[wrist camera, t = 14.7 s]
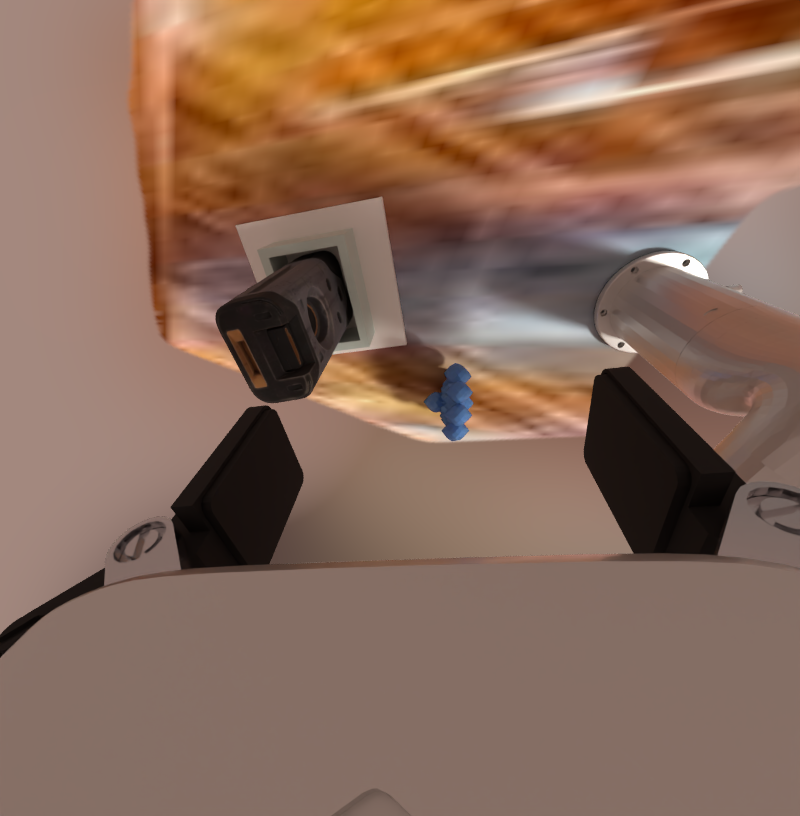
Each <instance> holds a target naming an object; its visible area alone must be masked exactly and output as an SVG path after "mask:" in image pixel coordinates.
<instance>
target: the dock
mask: <svg viewBox="0 0 800 816" xmlns="http://www.w3.org/2000/svg"><path fill="white" fill-rule="evenodd" d="M235 226H236V229H237V231H238V234H239V237H240V239H241V242H242V245H243V247H244V250H245V253H246V255H247V258H248V260H249V263H250V266H251V268H252V271H253V274H254V276H255V279H256V282H257V283H258V282H260V281H261V280H263V279H264V278H266V277H267V276H269V275H271V274H272V273H274V272H275V271H277V270H279V269H281V268H282V267H284V266H285V265H287V264H288V263H290V262H292V261H293V260H295V259H296V258H298V257H300V256H302V255H306V254H310V253H314V252H318V251H329V252H331V253H333V254H334V255H335V256H336V258H337V260H338V262H339V265H340V268H341V272H342V275H343V278H344V281H345V285H346V288H347V291H348V294H349V298H350V301H351V304H352V308H353V317H352V319H351V321H350V323H349V324H348V326H347V328H346V330H345V332H344V333H343V335H342V337H341V339H340V341H339V343H338V345H337V346H336V348H335V350H334V352H333V354H339V353H347V352H355V351H363V350H371V349H379V348H386V347H394V346H402V345H407V339H406V333H405V327H404V321H403V315H402V309H401V303H400V297H399V292H398V286H397V280H396V274H395V268H394V262H393V256H392V250H391V244H390V238H389V232H388V226H387V220H386V214H385V208H384V203H383V197H377V198H372V199H367V200H362V201H357V202H352V203H347V204H341V205H336V206H331V207H326V208H321V209H316V210H311V211H306V212H300V213H295V214H290V215H285V216H280V217H275V218H270V219H265V220H260V221H254V222H249V223H244V224H239V225H235Z"/></svg>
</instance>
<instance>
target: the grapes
mask: <svg viewBox="0 0 800 816" xmlns="http://www.w3.org/2000/svg"><path fill="white" fill-rule="evenodd" d="M444 374H445V376H446V378H447V379H446V380H445V382H444V383H443V387H442V388H441V391H442V392H441V393H439V392H434V393H432V394H431V395H429V396H428V397H427V399H426V400H425V401H424V403H425V404H426V406H427V407H428V408H429V409H430V410H431V411H433V412H441V414H440V417H441V418H442V419H441V420H442V421H443V423H444V424H445V425H446V426H445V427H444V429H443V430H442V432H443V433H444V435H445V436H446V437H447V438H448V439H449V440H451V441H456V440H460V439H462V438H463V437H464V436H465V435H466V434H467V432H468V431H469V430H468V428H467V427H466V426H465V425H464V423H465V422H466V421H467V420H468V419H469V418H470V417H471V416H472V415H471V413H470V412H469V411H468V409H469V408H470V407H471V406H472V405H473V402H472V400H471V399H470V398H469V397H470V396H471V394H472V393H473V392H472V391H471V389H470V388H469V387H468V386H467V385H466V384H465V383H466V382H467V381H468V380H469V379H470V377H471V375H470V373H469V372H468V371H467V370H466V369H465V368H464V367H463V366H462V365H460V364H457V363H455V364H453V365H451V366H450V367H449V368H448V369H447V370H446V371H445V372H444Z"/></svg>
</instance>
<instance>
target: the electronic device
mask: <svg viewBox="0 0 800 816" xmlns="http://www.w3.org/2000/svg"><path fill="white" fill-rule="evenodd" d="M352 317H353V308H352V304H351V301H350V298H349V294H348V291H347V288H346V285H345V281H344V278H343V275H342V272H341V268H340V265H339V262H338V260H337V258H336V256H335V255H334V254H333V253H331V252H329V251H318V252H314V253H310V254H306V255H302V256H300V257H298V258H296V259H295V260H293V261H292V262H290V263H288V264H287V265H285V266H284V267H282V268H281V269H279V270H277V271H275V272H274V273H272V274H271V275H269V276H267V277H266V278H264V279H263V280H261V281H260V282H258V283H256V284H255V285H253V286H252V287H250V288H249V289H247V290H246V291H245V292H243V293H242V294H240V295H238V296H237V297H235V298H234V299H232V300H231V301H229V302H228V303H226V304H224V305H223V306H221V307H220V308H219V309H218V310H217V313H216V324H217V327H218V329H219V331H220V333H221V335H222V337H223V339H224V341H225V342H226V344H227V346H228V348H229V350H230V352H231V354H232V356H233V358H234V359H235V361H236V363H237V365H238V367H239V369H240V371H241V373H242V374H243V376H244V378H245V380H246V382H247V384H248V386H249V388H250V389H251V391H252V392H253V394H254V395H255V396H256V397H257V398H258V399H260V400H262V401H264V402H267V403H279V402H285V401H290V400H297V399H302V398H305V397H307V396H309V395H310V394H311V392H312V391H313V389H314V387H315V385H316V383H317V381H318V380H319V378H320V376H321V374H322V372H323V370H324V368H325V367H326V365H327V363H328V361H329V359H330V357H331V356H332V354H333V352H334V350H335V348H336V346H337V345H338V343H339V341H340V339H341V337H342V335H343V333H344V332H345V330H346V328H347V326H348V324H349V323H350V321H351V319H352Z"/></svg>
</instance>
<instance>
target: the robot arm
mask: <svg viewBox="0 0 800 816" xmlns="http://www.w3.org/2000/svg"><path fill="white" fill-rule="evenodd" d="M632 268H633V270H631V269H632ZM742 290H743V288H742V286H741V285H732V286H723V285H720V284H718V283H715V282H712V281H710V280H709V277H708V274H707V271H706V269H705V268H704V266H703V265H702V264H701V262H699V261H698V260H697V259H695V258H694V257H692V256H690V255H687V254H685V253H681V252H677V251H660V252H653V253H650V254H647V255H644V256H641V257H639V258H637V259H635V260H633V261H631V262H630V263H628V264H627V265H626V266H624V267H623V268H621V269H620V270H619V271H618V272H617V273H616V274H615V275H614V276H613V277H612V278H611V279H610V280H609V281H608V283H607V284H606V285H605V287H604V288H603V290H602V292H601V293H600V295H599V298H598V300H597V303H596V307H595V312H594V323H595V326H596V330H597V332H598V334H599V335H600V337H601V338H602V339H603V340H604V341H605V342H606V343H607V344H608V345H609V346H611V347H612V348H614V349H616V350H619V351H623V352H628V353H639V354H640V355H641V356H642V357H643V358H644V359H645V360H647V361H648V362H649V363H650V364H651V365H653V367H655V368H656V369H657V370H658V371H659V372H660V373H661V374H663V375H664V376H665V377H666V378H667V379H668V380H669V381H671V382H672V383H673V384H674V385H675V386H676V387H677V388H678V389H680V390H681V391H682V392H683V393H684V394H685V395H686V396H688V397H689V398H690V399H691V400H692V401H693V402H695V403H696V404H698V405H700V406H702V407H704V408H706V409H708V410H711V411H714V412H718V413H722V414H727V415H734V416H745V417H744V418H743V419H742V420H741V421H740V422H739V423H738V424H737V425H736V426H735V427H734V429H733V431H731V432H730V433H729V434H728V435H727V436H726V437H725V438H724V439H723V440H722V441H721V442H720V443H719V444H718V445H717V446H716V447H715V448H714V449H712V448H711V447H710V446H709V445H708V444H707V443H706V442H705V441H704V440H703V439H702V438H701V437H700V436H699V435H698V434H697V433H696V432H695V431H694V430H693V429H692V428H691V427H690V426H689V425H688V424H687V423H686V422H685V421H684V420H683V419H682V418H681V417H680V416H679V415H678V414H677V413H676V412H675V411H674V410H673V409H672V408H671V407H670V406H669V405H667V403H666V402H665V401H664V400H663V399H662V398H661V397H660V396H659V395H657V393H655V391H654V390H652V389H651V388H650V387H649V386H648V385H647V384H646V383H645V382H644V381H643V380H642V379H641V378H640V377H639V376H638V375H637V374H636V373H635V372H634V371H633V370H632V369H631V368H630V367H619V368H610V369H604V370H603V371H602V373H601V375H597V376H596V377H595V379H594V385H593V392H592V398H591V405H590V412H589V419H588V425H587V432H586V439H585V446H584V458H585V462H586V464H587V466H588V468H589V470H590V472H591V474H592V476H593V478H594V479H595V481H596V483H597V485H598V487H599V489H600V491H601V493H602V494H603V496H604V498H605V500H606V502H607V504H608V506H609V507H610V510H611V511H612V513H613V515H614V517H615V519H616V521H617V523H618V525H619V527H620V528H621V530H622V532H623V534H624V536H625V538H626V540H627V542H628V544H629V545H630V547H631V549H632V551H633V553H634V554H575V555H540V556H506V557H505V556H503V557H467V558H437V559H436V558H435V559H404V560H378V561H377V560H375V561H347V562H346V561H345V562H320V563H293V564H269V563H270V561H271V559H272V556H273V554H274V551H275V549H276V546H277V544H278V541H279V539H280V537H281V534H282V532H283V530H284V527H285V525H286V522H287V520H288V517H289V515H290V513H291V510H292V508H293V505H294V503H295V501H296V498H297V495H298V493H299V491H300V488H301V486H302V484H303V472H302V469H301V467H300V464H299V463H298V460H297V457H296V455H295V453H294V450H293V448H292V446H291V444H290V441H289V439H288V437H287V434H286V432H285V430H284V427H283V425H282V423H281V421H280V418H279V416H278V414H277V412H276V411H275V410H273V409H271V408H270V407H269V406H257V407H249V408H248V409H246V411H245V412H244V413H243V415H242V416H241V417H240V418H239V420H238V421H237V422H236V424H235V425H234V426H233V428H232V429H231V430H230V431H229V433H228V434H227V435H226V436H225V438H224V439H223V440H222V442H221V443H220V444H219V445H218V447H217V448H216V449H215V451H214V452H213V453H212V454H211V456H210V457H209V458H208V460H207V461H206V462H205V464H204V465H203V466H202V467H201V469H200V470H199V471H198V473H197V474H196V475H195V476H194V478H193V479H192V480H191V481H190V483H189V484H188V485H187V487H186V488H185V489H184V490H183V492H182V493H181V494H180V496H179V497H178V498H177V499H176V501H175V502H174V503H173V505H172V506H171V508H172V510H173V511H174V512H175V516H174V517H173V518H172V520H171V519H170V518H167V517H165V516H161V517H160V516H157V517H153V518H149V519H147V520H144V521H142V522H140V523H138V524H136V525H134V526H133V527H131V528H129V529H128V530H127V531H126V532H125V533H124V534H122V535H121V536H120V537H119V538H118V539H117V540H116V541H115V542H114V543H113V545H112V546H111V547H110V549H109V551H108V553H107V556H106V561H105V568H104V569H102V570H100V571H99V572H97V573H95V574H94V575H92V576H90V577H88V578H87V579H85V580H83V581H82V582H80V583H78V584H77V585H75V586H73V587H71V588H70V589H68V590H66V591H65V592H63V593H61V594H60V595H58V596H57V597H55V598H53V599H51V600H49V601H48V602H46V603H45V604H43V605H41V606H39V607H38V608H36V609H34V610H33V611H31V612H29V613H28V614H26V615H25V616H23V617H21V618H19V619H18V620H16V621H15V622H13V623H12V624H11V625H9V627H7V628H6V629H5V630H4V631H3V632H2V634H1V635H0V816H800V315H797V314H794V313H792V312H789V311H787V310H784V309H782V308H779V307H776V306H774V305H771V304H769V303H766V302H764V301H761V300H759V299H756V298H753V297H751V296H748V295H746V294H743V293H742ZM602 310H603V311H602ZM601 311H602V312H601Z"/></svg>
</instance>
